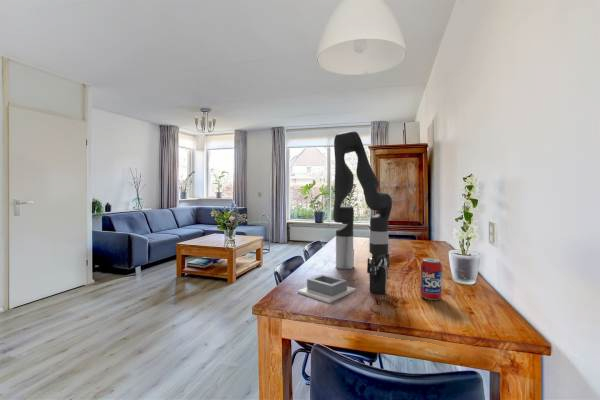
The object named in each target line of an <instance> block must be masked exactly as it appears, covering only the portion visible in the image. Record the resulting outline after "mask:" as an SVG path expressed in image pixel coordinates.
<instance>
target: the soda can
mask: <svg viewBox="0 0 600 400" xmlns="http://www.w3.org/2000/svg"><path fill="white" fill-rule="evenodd" d="M421 260H422V261H421V262H420V268H419V269H420V273H419V275H420V277H419V294H420V295H419V296H421V297H422V298H423V299H425V300H427V299H428V301H433V300H435V301H439V300H441V299H442V298H443V267H444V266H443V264H442V263H441V260H440V259H438V258H434V257H424V258H422V259H421Z"/></svg>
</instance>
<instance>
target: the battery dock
mask: <svg viewBox="0 0 600 400" xmlns="http://www.w3.org/2000/svg"><path fill="white" fill-rule="evenodd" d="M353 292H356V288H355V287H351V286H349V285H348V280H347V279H343V278H339V277H336V276H331V275H327V274H323V273H321V274H319V275H316V276H313V277H310V278H307V279H306V287H303V288H301V289H298V290H297V293H298V294H301V295H303V296H306V297H309V298H311V299H315V300H319V301H321V302H325V303H327V304H331V303H333V302H335V301H336V300H338V299H341V298H342V297H345V296H347V295H349V294H351V293H352V294H353Z"/></svg>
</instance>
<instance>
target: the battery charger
mask: <svg viewBox="0 0 600 400" xmlns="http://www.w3.org/2000/svg"><path fill="white" fill-rule="evenodd" d="M370 269H371V268H370ZM374 271H375V269H374ZM388 273H389V270H388V269H387V267H386V266H385V265H381V266H380V268H379V270H377V273H376V284H373V283H371V274H370V273H368V274H369V275H368V276H369V277H368V278H369V292H371V293H375V294H378V295H379V294H380V295H386V294H387V292H388V291H387V280H388V277H389V276H388V275H389V274H388Z"/></svg>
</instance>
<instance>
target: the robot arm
mask: <svg viewBox="0 0 600 400" xmlns="http://www.w3.org/2000/svg"><path fill="white" fill-rule="evenodd" d="M333 150H334V152H333V153H334V202H333V210H332V211H333V212H332V213H333V214H332V216H333V218H332V219H333V221H334V223H338V224H346V225H345V226H344V227H341V228H338V229H336V231H335V267H336V268H337V269H340V270H351V269H353V268H354V266H355V249H354V217H355V209H354V206H352V205H342V203H343V202H344V200H346V198H347V197H348V196H349V195H350V194H351V192H352V190H354V189H353V188H354V180H355V178H354V174H353V172H352V170H351V169H350V167H349V166H348V165H347V163H346V161H345V159H346V158H345V156H346V154H349V153H353V152H354V153H355V154H356V157H357V163H356V172H355V173H356V177H357V180H358V182H359V183H360V186H361V187H362V191H363V195H364V196H363V197H364V200H365V204H366V206H367V207H368V208H369V209H370V210H371V211H376V213H375V215H373V216H372V217H370V221H369V226H370V227H369V245H368V246H369V250H368V252H369V253H370V254H371V255H372V256H371V257H368V258H367V263H366V264H367V268H366V271H367V272H366V273H367V274H369V273H370V274H371V283H373V284H376V273H377V270H379V268H380V266H381V265H385V266H386V267H387V269H388V268H390V253H389V243H390V242H389V239H390V237H389V218H390V215H391V211H392V207H393V201H392V197H391V195H390V194H389V193H387V192H378V191H377V189H378V188H379V186H380V182H379V180H378V178H377V176H376V174H375V172H374V171H373V168H372V167H371V165H370V161H369V159H368V155H367V153H366V149H365V147H364V144H363V141H362V138H361V136H360V134H359V133H358V132H357V131H355V130H351V131H350V130H349V131H344V132H340V133H337V134H335V136H334V139H333ZM370 268H371V269H370ZM374 269H375V271H374Z"/></svg>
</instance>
